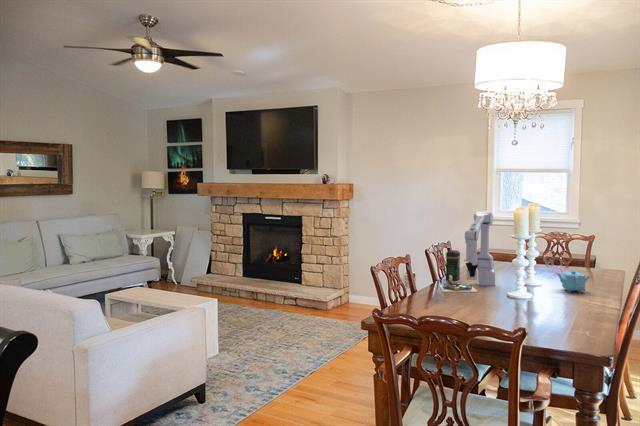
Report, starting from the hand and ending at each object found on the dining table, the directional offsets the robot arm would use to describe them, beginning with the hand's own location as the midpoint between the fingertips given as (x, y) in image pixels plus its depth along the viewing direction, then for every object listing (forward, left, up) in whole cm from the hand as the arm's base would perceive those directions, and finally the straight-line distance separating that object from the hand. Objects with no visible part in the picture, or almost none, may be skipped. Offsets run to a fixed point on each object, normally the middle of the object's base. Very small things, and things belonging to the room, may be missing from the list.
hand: (471, 276), depth 287 cm
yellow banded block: (0, 0, -2) cm, 2 cm away
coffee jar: (+4, -40, -10) cm, 41 cm away
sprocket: (+6, -11, -9) cm, 16 cm away
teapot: (-56, -7, -10) cm, 57 cm away
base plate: (+6, -11, -9) cm, 16 cm away
